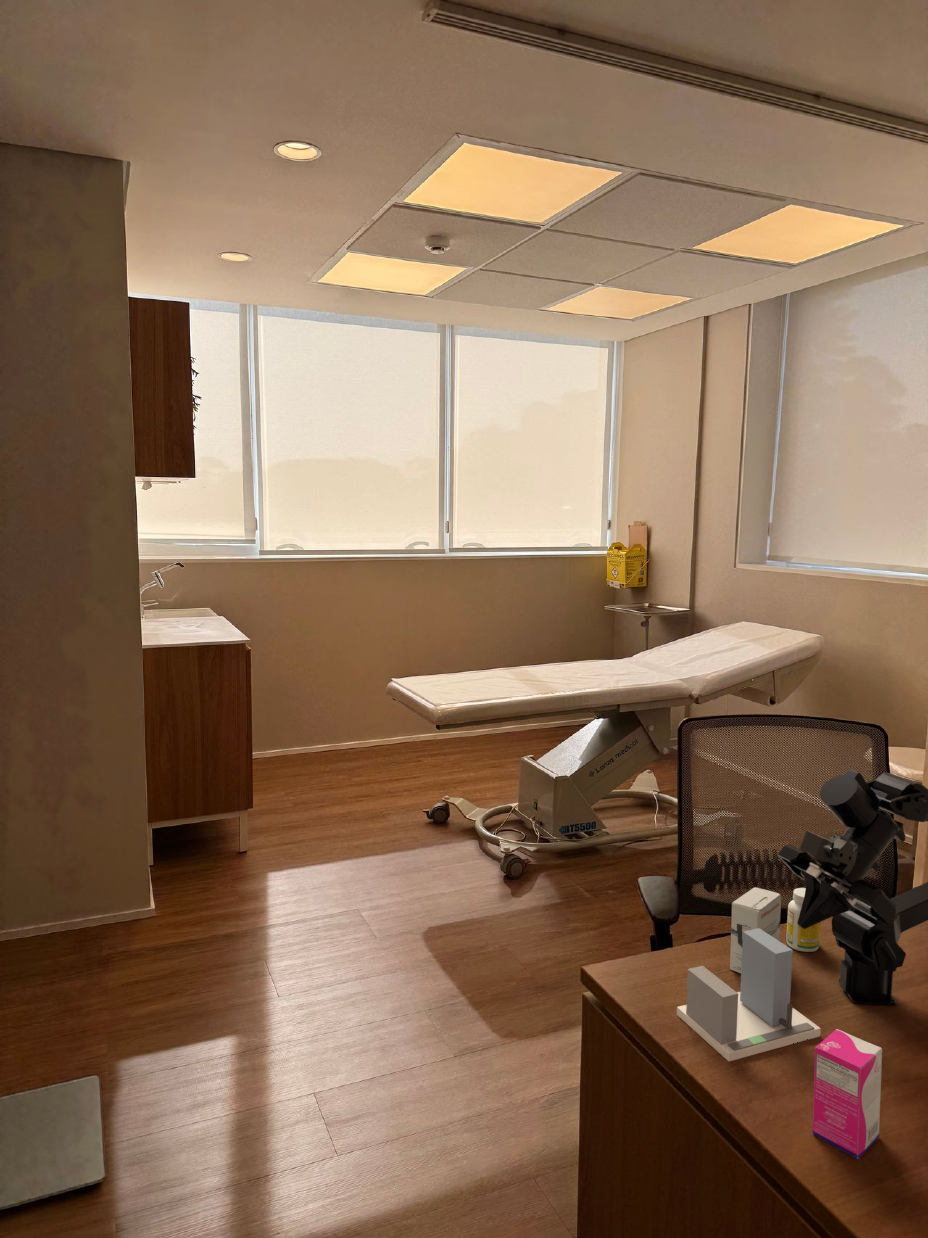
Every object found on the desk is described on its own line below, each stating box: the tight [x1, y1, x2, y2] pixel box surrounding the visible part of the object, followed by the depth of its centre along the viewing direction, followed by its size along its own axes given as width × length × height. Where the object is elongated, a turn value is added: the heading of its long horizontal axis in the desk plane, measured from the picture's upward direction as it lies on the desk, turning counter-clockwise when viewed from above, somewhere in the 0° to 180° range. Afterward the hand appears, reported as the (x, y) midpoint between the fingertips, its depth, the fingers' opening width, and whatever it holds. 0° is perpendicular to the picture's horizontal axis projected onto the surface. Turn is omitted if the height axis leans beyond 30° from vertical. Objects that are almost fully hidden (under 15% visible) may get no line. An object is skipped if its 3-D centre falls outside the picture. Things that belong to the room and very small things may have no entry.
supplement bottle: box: [785, 887, 822, 953], centre depth 149 cm, size 5×5×10 cm
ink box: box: [729, 887, 782, 974], centre depth 142 cm, size 9×5×12 cm, turn 136°
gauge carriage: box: [739, 928, 794, 1030], centre depth 126 cm, size 3×9×11 cm, turn 21°
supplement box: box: [812, 1028, 883, 1160], centre depth 103 cm, size 6×6×12 cm
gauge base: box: [676, 965, 822, 1062], centre depth 126 cm, size 16×12×8 cm
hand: (800, 926), depth 128 cm, fingers closed
